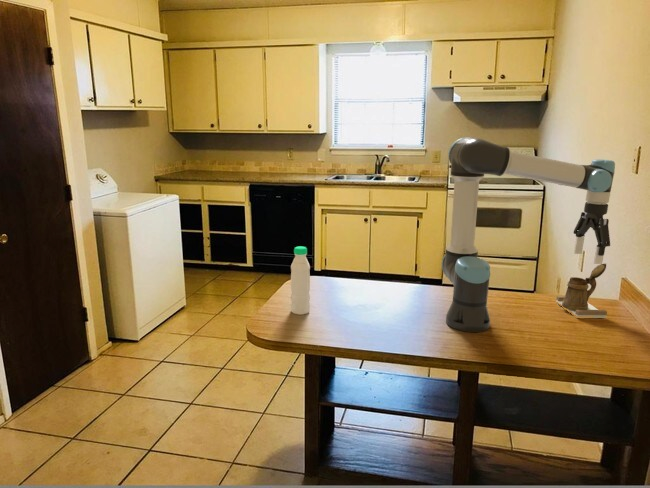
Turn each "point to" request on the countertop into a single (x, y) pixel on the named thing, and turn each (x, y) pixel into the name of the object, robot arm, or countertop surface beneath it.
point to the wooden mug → (581, 290)
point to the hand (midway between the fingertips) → (587, 258)
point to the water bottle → (300, 282)
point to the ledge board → (585, 313)
